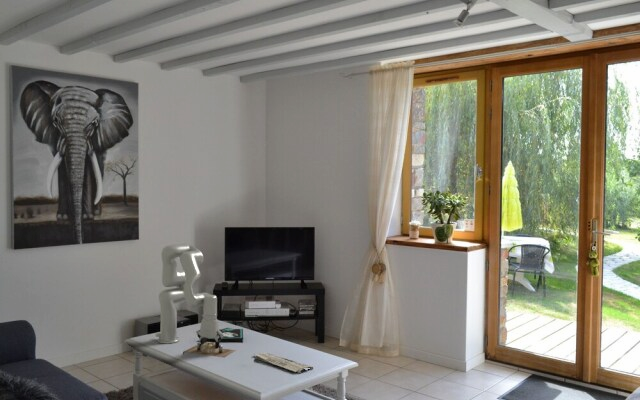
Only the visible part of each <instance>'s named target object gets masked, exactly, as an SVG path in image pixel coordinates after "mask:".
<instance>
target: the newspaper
mask: <svg viewBox="0 0 640 400" xmlns="http://www.w3.org/2000/svg"><path fill="white" fill-rule="evenodd" d="M253 355H254V358H255V359H256V360H258V361H262V362H265V363H267V364H271V365H273V366H277V367H280V368H283V369H286V370H289V371H292V372H294V373H298V374H302V373H301V371H303V369H304V368H310V370H314V367H313V366H312V365H307V364H304V363H301V362H297V361H294V360H292V359H288V358H284V357H282V356H278V355H275V354H272V353H268V352H260V353H256V354H255V353H253Z"/></svg>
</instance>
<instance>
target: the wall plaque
mask: <svg viewBox="0 0 640 400" xmlns="http://www.w3.org/2000/svg"><path fill="white" fill-rule="evenodd" d="M219 331H220V332H222V333H223V334H224V336H223V337H222V339H221V340H220V343H227V344H228V343H230V344H231V343H232V344H233V343H234V344H236V343H237V344H242V343H244V329H243V328H231V327H225V328H221V329H220V328H219ZM219 337H220V335H219ZM206 342H213V343H215V342H216V340H215V338H205V337H204V343H206Z"/></svg>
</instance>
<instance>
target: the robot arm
mask: <svg viewBox="0 0 640 400" xmlns="http://www.w3.org/2000/svg"><path fill="white" fill-rule="evenodd" d="M176 259H179V261H180V264H181V265H180V266H181V267H182V269H178V262H177V260H176ZM161 262H162V272H161V273H162V275H161V276H162V277H161V283H162V285H163V286H164V287H165V288H166V289H164V290H161V291H160V293H158V294H159V295H158V300H159V307H160V308H159V309H160V330H159V331H160V332H156V333H155V337H156V338H157V337H158V339H157V342H158V343H159V344H173V343H178V342H179V341H180V338H179V337H177V333H178V331H177V328H178V327H177V325H178V324H177V322H178V321H177V318H178V313H177V312H178V311H177V308H176V307H175V304H177V305H178V304H182V303H184V302H186V303H187V305H188V306H189V307H190V308H192V309H196V308H200V307H203V309H202V310H203V311H202V312H203V313H202V314H201V317H202V319H201V322H200V329H199V330H197V331H195V333H196V335H197V337H198V339H199V343H200V345H202V344H204V343H205V342H204V337H205V338H215V340H216V342H214V343H215V349H217V348H219V346H220V345H221V344H220V340H221V339H222V337H223V336H224V334H223V333H222V332H220V331H219V329H220V325H219V320H218V318H217V317H218V297H217V295H215V294H210V293H209V292H199V293H194V290H193V285H194V282H195V281H196V280H198V279H199V278H200V277H201V275H202V274H201V272H200V269H199V265H202V263H203V262H204V255H203V253H202V251H201V250H200V249H198V248H197V247H195V246H194V245H192V244H190V243H177V244H176V243H175V244H168V245H166V246H164V247H163V248H162V250H161ZM219 335H220V337H219Z"/></svg>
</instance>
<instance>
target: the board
mask: <svg viewBox="0 0 640 400" xmlns="http://www.w3.org/2000/svg"><path fill="white" fill-rule="evenodd" d="M208 345H212V344H208ZM235 351H237V350H235V349H228V348H227V349H226V348H224V347H223V345H221V344H219V348H218V350H217V351H216V352H214V353H204V352H201V345H200V342H196V345H194V346H192V347H190V348H188V349H185V350H183V352H182V355H184V354H185V353H187V354H188V353H189V354H195V355H203V356H210V357H218V358H226V357H227V356H229V355H231V354H232V353H234V352H235Z"/></svg>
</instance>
